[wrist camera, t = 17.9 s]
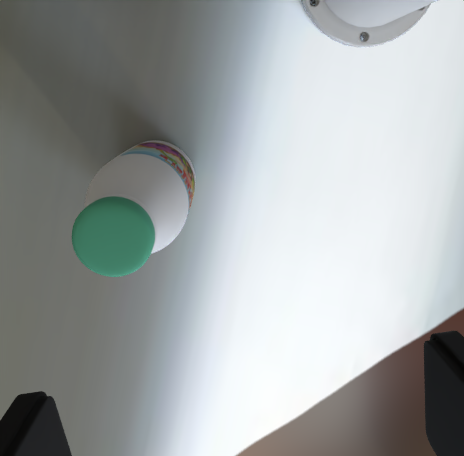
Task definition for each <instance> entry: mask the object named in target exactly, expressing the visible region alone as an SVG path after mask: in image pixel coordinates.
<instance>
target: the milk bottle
mask: <svg viewBox="0 0 464 456" xmlns="http://www.w3.org/2000/svg"><path fill="white" fill-rule="evenodd" d="M195 183H196V178H195V171H194V168H193V165H192V163H191V161H190V159H189V158H188V157H187V155H186V154H185V153H184V152H183V151H182V150H181V149H179V148H178V147H177V146H175V145H173V144H171V143H168V142H165V141H159V140H152V141H146V142H142V143H140V144H137V145H135V146H133V147H132V148H130V149H128V150H126V151H125V152H123V153H121V154H120V155H118V156H116V157H115V158H113V159H112V160H110V161H109V162H108V163H107V164H105V165H104V166H103V167H102V168H101V169H100V170H99V171H98V172H97V173H96V175H95V176H94V178H93V179H92V181H91V183H90V185H89V187H88V190H87V194H86V198H85V209H84V210H83V211H82V212H81V213H80V214H79V215H78V217H77V218H76V220H75V223H74V225H73V230H72V244H73V248H74V250H75V253H76V255H77V256H78V258H79V259H80V261H81V262H82V263H83V264H84V265H85V266H86V267H87V268H89V269H90V270H92V271H94V272H96V273H98V274H100V275H104V276H110V277H119V276H124V275H128V274H130V273H132V272H134V271H136V270H138V269H139V268H140V267H141V266H142V265H143V264H144V263H145V262H146V261H147V259H148V258H149V256H150V254H152V253H154V252H157V251H159V250H161V249H162V248H164V247H166V246H167V245H168V244H170V243H171V242H172V241H173V240H174V239H175V238H176V236H177V235H178V234H179V233H180V231H181V230H182V228H183V226H184V224H185V221H186V219H187V216H188V213H189V210H190V206H191V203H192V199H193V195H194V190H195Z"/></svg>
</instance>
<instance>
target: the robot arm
mask: <svg viewBox="0 0 464 456" xmlns="http://www.w3.org/2000/svg"><path fill="white" fill-rule="evenodd" d="M310 1H311V0H302V2H303V5H304V7H305V10H306V12H307V14H308V15H309V17H310V18H311V20H312V22H313V23H314V24H315V25H316V26H317V27H318V28H319V29H320V31H321V32H322V33H324V34H325V35H327V36H328V37H330V38H331V39H332V40H334V41H337V42H339V43H341V44H344V45H348V46H353V47H372V46H376V45H381V44H384V43H387V42H389V41H392V40H394V39H396V38H398V37H399V36H401V35H403V34H405V33H406V32H407V31H408V30H410V29H411V28H412V27H413V26H414V25H416V23H417V22H418V21H419V20H420V19H421V18H422V16H423V15H424V14H425V13H426V11H427V9H428V8H429V6H430V5H431V3H434V2H436V1H438V0H313V1H315V5H314V6H312V5H311V4H310ZM360 35H363V37H364V39H363V41H361V40H360V38H359V37H360ZM424 375H425V419H426V434H427V437H428V440H429V442H430V445H431V446H432V448H433V450H434V452H435V453H436V455H437V456H464V337H463V336H462V335H461V334H460V333H459V332H457V331H449V332H443V333H435V334H432V335H431V337H430V340H429V341H425V343H424ZM0 456H72V455H71V452H70V448H69V445H68V442H67V439H66V436H65V433H64V429H63V426H62V423H61V420H60V417H59V414H58V411H57V407H56V404H55V401H54V399H53V398H52V397H51V396H48V397H47V395H46V393H45V392H42V391H40V392H34V393H27V394H21V395H18V396H17V397H16V398H15V400H14V401H13V403H12V404H11V406H10V407H9V409H8V410H7V412H6V413H5V415H4V416H3V418H2V419H1V421H0Z"/></svg>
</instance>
